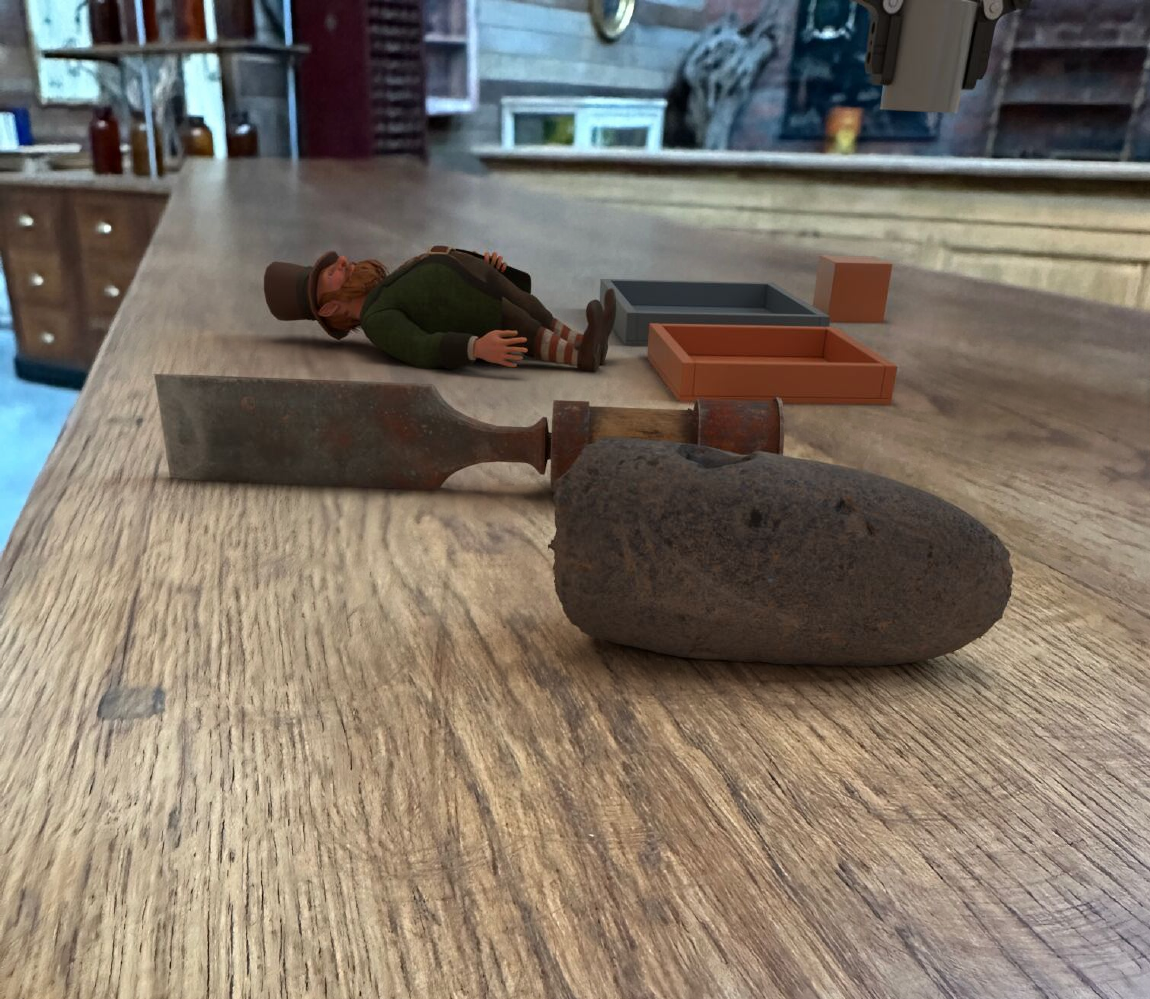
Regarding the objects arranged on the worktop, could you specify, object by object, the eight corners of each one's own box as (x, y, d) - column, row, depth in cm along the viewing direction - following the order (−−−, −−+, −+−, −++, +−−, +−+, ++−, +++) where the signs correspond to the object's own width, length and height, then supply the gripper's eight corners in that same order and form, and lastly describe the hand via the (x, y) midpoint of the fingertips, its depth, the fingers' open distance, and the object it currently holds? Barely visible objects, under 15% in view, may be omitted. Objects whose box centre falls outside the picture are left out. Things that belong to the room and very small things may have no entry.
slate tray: (770, 313, 102) (774, 282, 101) (825, 352, 87) (830, 316, 86) (599, 310, 100) (600, 278, 99) (625, 349, 85) (627, 312, 84)
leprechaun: (581, 352, 71) (213, 279, 74) (580, 460, 79) (250, 390, 82) (624, 241, 76) (277, 177, 79) (619, 354, 84) (306, 292, 87)
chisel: (150, 500, 51) (131, 386, 48) (185, 469, 55) (170, 363, 53) (774, 525, 51) (788, 412, 48) (761, 491, 55) (773, 386, 53)
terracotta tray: (829, 364, 83) (834, 326, 82) (890, 408, 72) (898, 365, 70) (646, 361, 82) (649, 323, 80) (679, 406, 70) (682, 362, 69)
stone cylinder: (940, 112, 77) (959, 6, 74) (969, 113, 72) (991, 1, 69) (869, 108, 76) (885, 1, 73) (894, 110, 72) (913, -4, 69)
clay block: (864, 316, 103) (874, 256, 100) (882, 326, 98) (892, 263, 96) (811, 315, 102) (819, 254, 100) (826, 325, 98) (835, 262, 95)
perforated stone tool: (980, 645, 40) (1027, 450, 37) (1005, 712, 36) (1061, 498, 32) (566, 606, 42) (572, 416, 38) (541, 666, 38) (545, 458, 34)
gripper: (883, -286, 61) (833, 82, 70) (1132, -264, 63) (1053, 93, 71) (841, -251, 67) (799, 82, 76) (1068, -232, 69) (1002, 92, 78)
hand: (922, 85), depth 74 cm, fingers closed on stone cylinder, 5 cm apart
